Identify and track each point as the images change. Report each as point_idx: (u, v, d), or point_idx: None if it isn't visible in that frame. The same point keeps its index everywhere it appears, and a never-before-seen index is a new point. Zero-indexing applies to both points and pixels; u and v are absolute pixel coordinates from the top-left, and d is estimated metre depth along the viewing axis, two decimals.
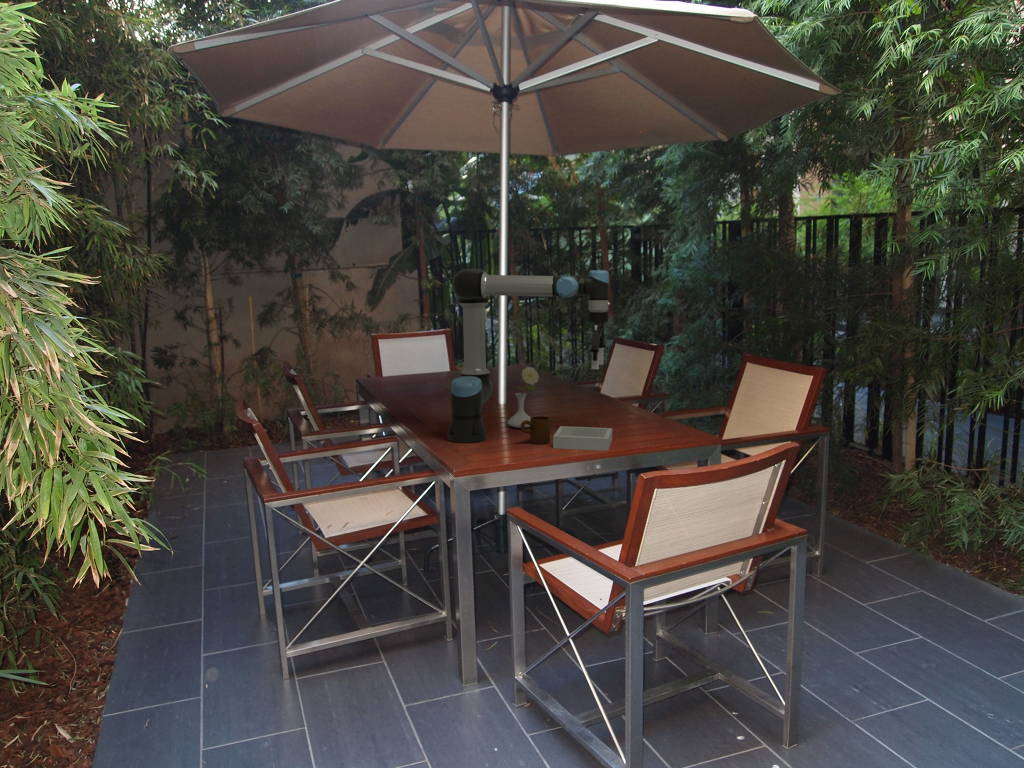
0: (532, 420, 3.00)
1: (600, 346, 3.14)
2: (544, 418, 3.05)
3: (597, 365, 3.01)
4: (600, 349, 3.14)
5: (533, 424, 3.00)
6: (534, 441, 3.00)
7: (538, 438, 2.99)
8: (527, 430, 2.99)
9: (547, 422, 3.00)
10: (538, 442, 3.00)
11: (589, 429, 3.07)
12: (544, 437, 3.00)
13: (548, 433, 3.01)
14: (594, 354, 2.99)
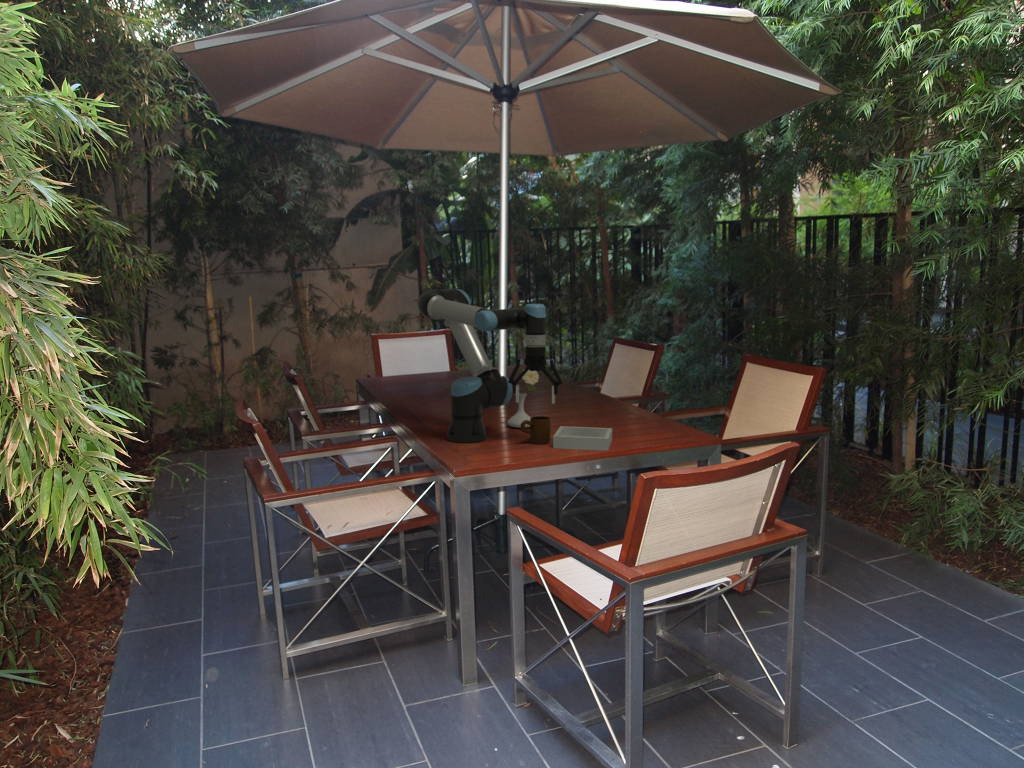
0: (532, 420, 3.00)
1: None
2: (544, 418, 3.05)
3: None
4: (552, 387, 2.98)
5: (533, 424, 3.00)
6: (534, 441, 3.00)
7: (538, 438, 2.99)
8: (527, 430, 2.99)
9: (547, 422, 3.00)
10: (538, 442, 3.00)
11: (589, 429, 3.07)
12: (544, 437, 3.00)
13: (548, 433, 3.01)
14: None
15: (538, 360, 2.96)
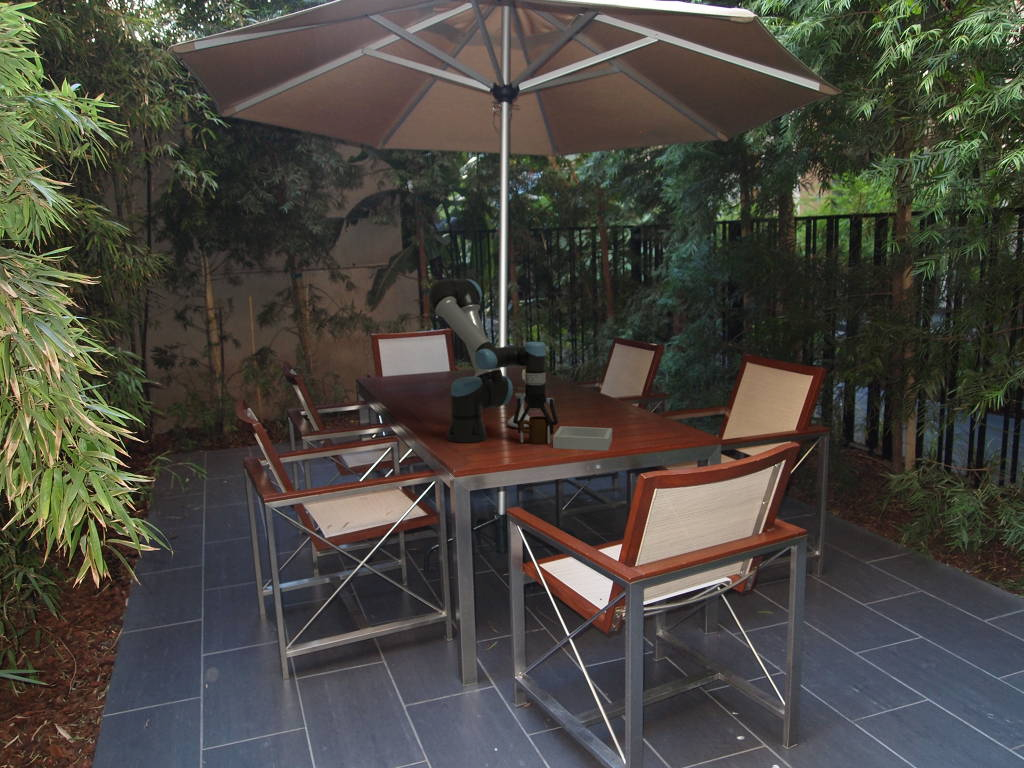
0: (531, 420, 3.00)
1: (550, 424, 3.00)
2: (543, 418, 3.05)
3: None
4: (548, 427, 3.00)
5: (532, 424, 3.00)
6: (533, 441, 3.00)
7: (537, 438, 2.99)
8: (526, 430, 2.99)
9: (546, 422, 3.00)
10: (537, 442, 3.00)
11: (589, 429, 3.07)
12: (543, 437, 3.00)
13: (547, 433, 3.01)
14: None
15: (538, 397, 2.98)
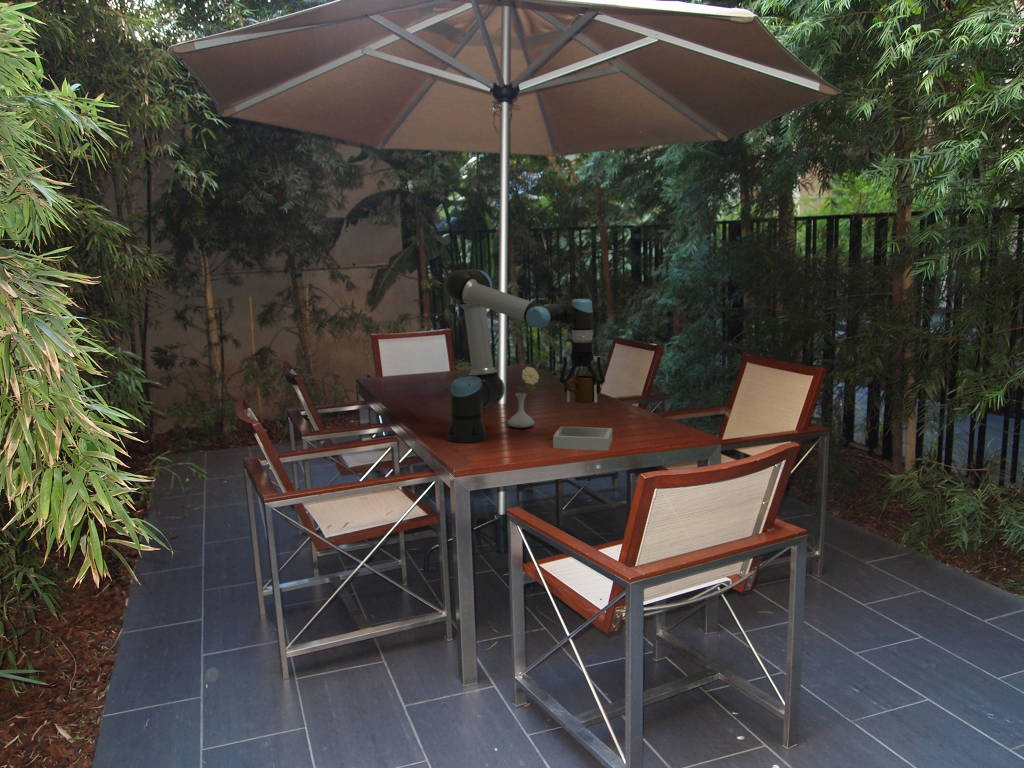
0: (577, 379, 2.96)
1: None
2: (588, 377, 3.01)
3: (567, 397, 2.98)
4: None
5: (578, 383, 2.95)
6: (579, 400, 2.96)
7: (584, 397, 2.95)
8: (572, 389, 2.95)
9: (592, 380, 2.95)
10: (584, 401, 2.95)
11: (589, 429, 3.07)
12: (590, 396, 2.95)
13: (593, 392, 2.96)
14: None
15: (585, 354, 2.94)
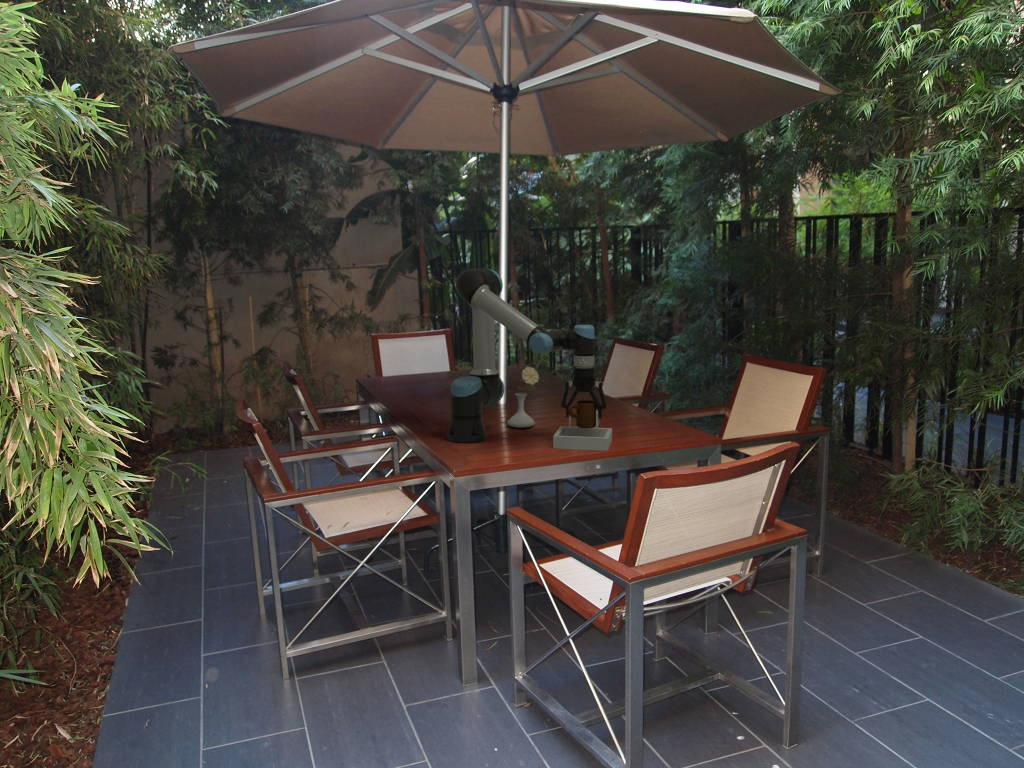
0: (579, 404, 2.97)
1: (598, 408, 2.97)
2: (590, 402, 3.02)
3: (569, 422, 3.00)
4: (596, 411, 2.98)
5: (580, 408, 2.97)
6: (581, 425, 2.98)
7: (586, 422, 2.97)
8: (574, 414, 2.97)
9: (594, 406, 2.97)
10: (585, 426, 2.97)
11: (589, 429, 3.07)
12: (591, 421, 2.97)
13: (595, 417, 2.98)
14: (566, 410, 3.00)
15: (587, 380, 2.96)
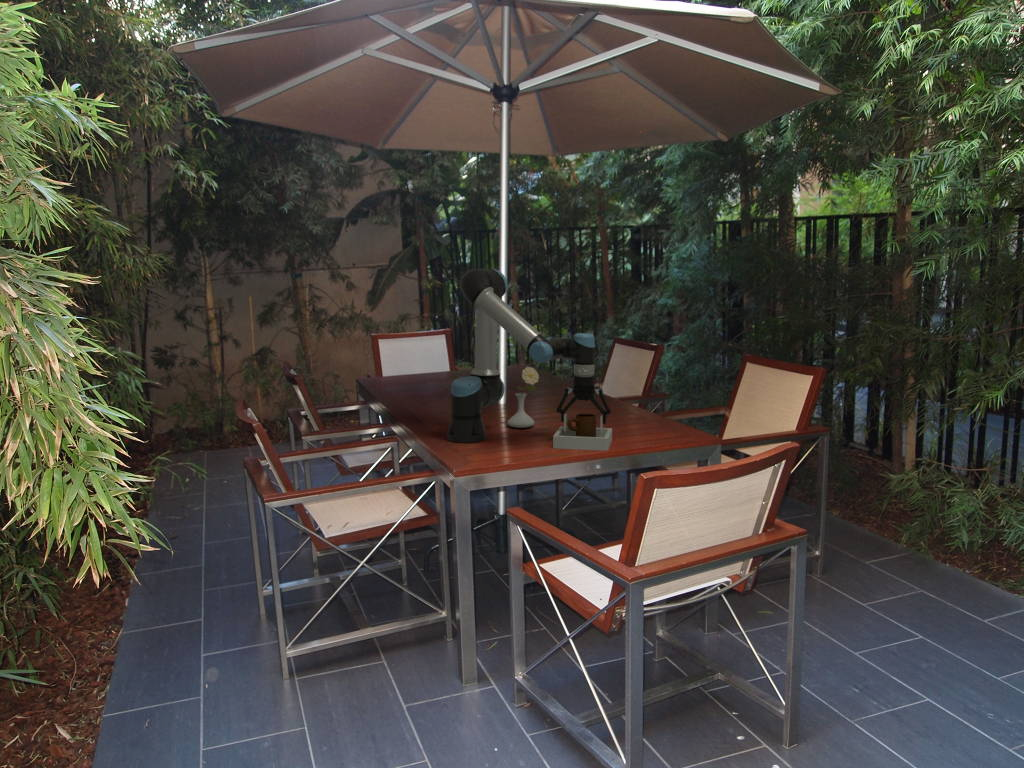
0: (578, 417, 2.98)
1: None
2: (589, 415, 3.03)
3: (564, 427, 3.00)
4: None
5: (579, 421, 2.98)
6: None
7: (585, 436, 2.98)
8: (574, 427, 2.97)
9: (593, 419, 2.98)
10: None
11: None
12: (591, 434, 2.98)
13: (594, 430, 2.99)
14: (561, 415, 3.01)
15: (587, 389, 2.96)
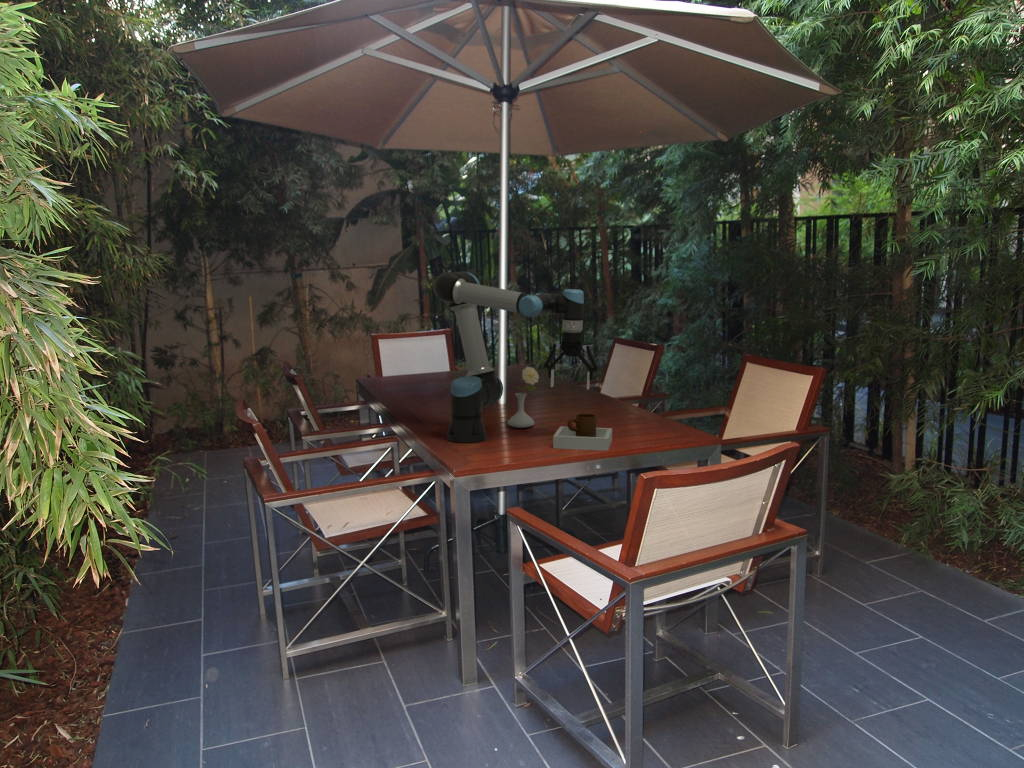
0: (578, 418, 2.98)
1: None
2: (589, 416, 3.03)
3: None
4: None
5: (580, 422, 2.98)
6: None
7: (585, 436, 2.98)
8: (574, 428, 2.97)
9: (594, 420, 2.98)
10: None
11: None
12: (591, 435, 2.98)
13: (594, 431, 2.99)
14: None
15: (574, 345, 2.97)
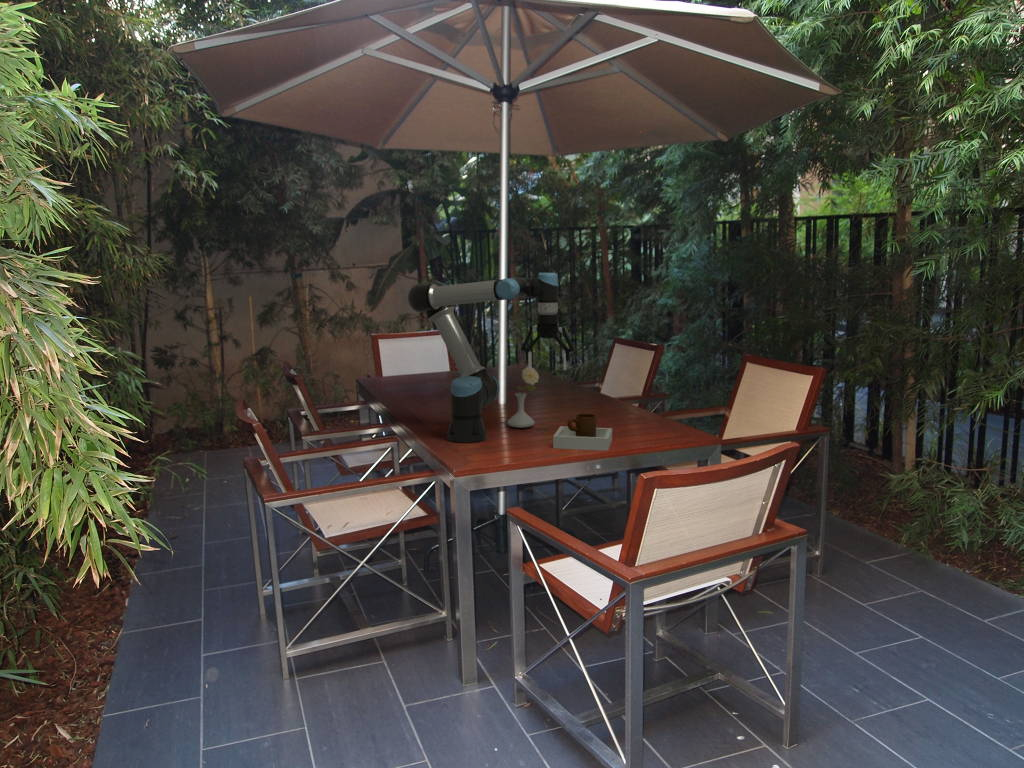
0: (578, 418, 2.98)
1: None
2: (589, 416, 3.03)
3: None
4: (564, 354, 3.05)
5: (580, 422, 2.98)
6: None
7: (585, 436, 2.98)
8: (574, 428, 2.97)
9: (594, 419, 2.98)
10: None
11: None
12: (591, 435, 2.98)
13: (594, 431, 2.99)
14: (526, 353, 3.08)
15: (550, 327, 3.04)
